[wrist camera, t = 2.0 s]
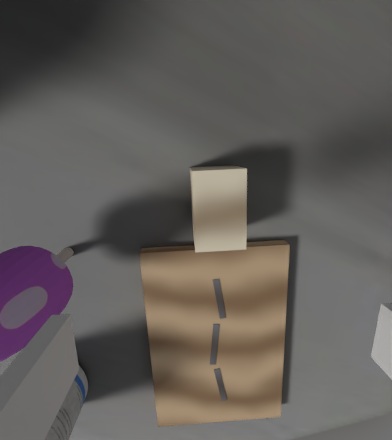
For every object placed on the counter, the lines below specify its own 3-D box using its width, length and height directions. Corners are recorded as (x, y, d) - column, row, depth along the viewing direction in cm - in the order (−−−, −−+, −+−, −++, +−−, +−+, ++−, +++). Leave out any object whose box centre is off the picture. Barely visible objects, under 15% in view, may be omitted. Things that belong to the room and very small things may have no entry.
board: (141, 248, 28) (139, 253, 26) (284, 239, 28) (290, 244, 27) (159, 415, 34) (158, 427, 33) (276, 405, 35) (280, 417, 33)
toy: (49, 212, 26) (-114, 282, 12) (109, 239, 28) (25, 334, 13) (28, 264, 28) (-141, 385, 13) (85, 289, 29) (-14, 425, 14)
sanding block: (189, 167, 26) (191, 171, 20) (233, 165, 26) (246, 168, 20) (192, 232, 28) (195, 252, 22) (233, 229, 28) (246, 249, 22)
